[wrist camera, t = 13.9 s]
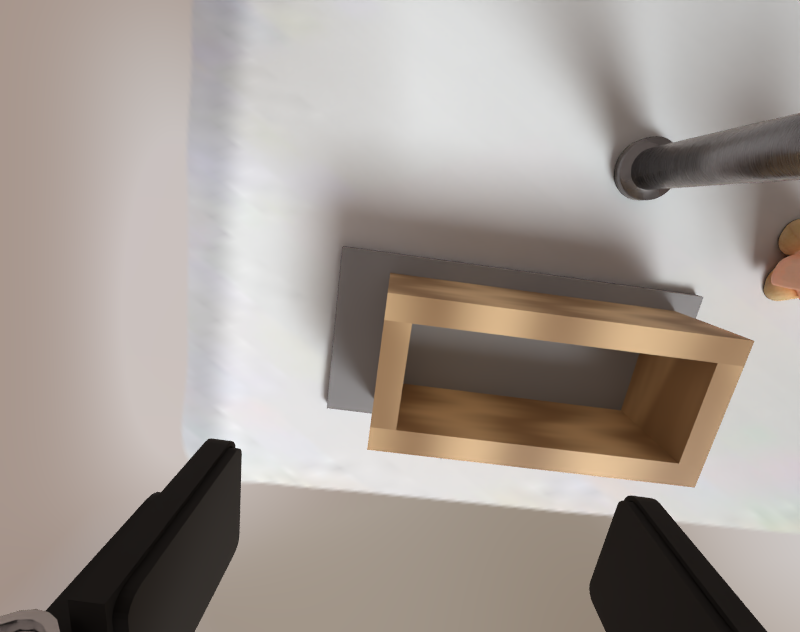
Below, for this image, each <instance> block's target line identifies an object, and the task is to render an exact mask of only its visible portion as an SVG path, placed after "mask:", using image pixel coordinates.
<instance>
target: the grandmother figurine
mask: <svg viewBox="0 0 800 632" xmlns="http://www.w3.org/2000/svg"><path fill="white" fill-rule="evenodd" d="M779 248H780V250H781V251H782V252H783V253H784V254H785V255H788V257H786V258H784V259H782V260H781V261H780V262H779V263H778V264H777V266H776V267H775V269H774V270H773V271H772V272H771V273H770V274H769V275H768V277H767V279H766V282H765V286H764V293H765V295H766V297H767V298H769V299H771V300H774V301H782V300H789V299H795V298H799V299H800V219H797V220H795V221H792V222H791V223H789V224H788V225H787V226H786V227H785V229H784V230H783V232H782V233H781V235H780V238H779Z"/></svg>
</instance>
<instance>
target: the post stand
mask: <svg viewBox="0 0 800 632" xmlns="http://www.w3.org/2000/svg"><path fill="white" fill-rule="evenodd" d="M614 177H615V183H616V186H617V188H618V189H619V191H620V192H621V193H622V194H623V195H624V196H626V197H627V198H630V199H633V200H651V199H655V198H658V197H660V196H662V195H663V194H665V193H666V192H668V191H669V190H670V189H671V188H682V187H697V186H712V185H727V184H741V183H756V182H771V181H786V180H800V113H797V114H793V115H789V116H785V117H780V118H776V119H772V120H768V121H763V122H759V123H755V124H750V125H746V126H742V127H738V128H733V129H729V130H725V131H720V132H716V133H712V134H708V135H703V136H699V137H695V138H691V139H686V140H682V141H678V142H671V141H670V140H668V139H666V138H664V137H657V136H656V137H649V138H645V139H641V140H638V141H636V142H634V143H632V144H631V145H629V146H628V147H627V148H626V149H625V150H624V151H623V152H622V154H621V155H620V157H619V158H618V161H617V163H616V166H615V172H614Z"/></svg>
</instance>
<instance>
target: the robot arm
mask: <svg viewBox="0 0 800 632" xmlns="http://www.w3.org/2000/svg"><path fill="white" fill-rule="evenodd" d="M241 457H242V453H241V449H238V448H235V443H234V442H233V441H226V440H218V439H208V440H207V441H206V442H205V443H204V444H203V445H202V446H201V447H200V449H199V450H198V451H197V452H196V453H195V454H194V455H193V457H192V458H191V459H190V460H189V461H188V462H187V463H186V465H185V466H184V467H183V468H182V469H181V470H180V471H179V473H178V474H177V475H176V476H175V477H174V478H173V479H172V481H171V482H170V483H169V484H168V485H167V486H166V487H165V488H164V490H163V491H162V492H156V493H154V494H152V495H151V496H150V497H149V498H147V499H146V501H145V502H144V503H143V504H142V505H141V506H140V507H139V508H138V509H137V510H136V511H135V513H134V514H133V515H132V516H131V517H130V518H129V519H128V520H127V521H126V523H125V524H124V525H123V526H122V527H121V528H120V529H119V531H117V533H116V534H115V535H114V536H113V537H112V538H111V539H110V540H109V541H108V542H107V544H106V545H105V546H104V547H103V548H102V549H101V550H100V551H99V552H98V553H97V555H96V556H95V557H94V558H93V559H92V560H91V561H90V562H89V563H88V565H87V566H86V567H85V568H84V569H83V570H82V571H81V572H80V574H79V575H78V576H77V577H76V578H75V579H74V580H73V581H72V582H71V583H70V584H69V586H68V587H67V588H66V589H65V590H64V591H63V592H62V593H61V594H60V595H59V597H58V598H57V599H56V600H55V601H54V602H53V603H52V604H51V606H50V607H49V608H48V609H47V610H46V611H42V610H38V609H33V610H21V611H17V612H13V613H10V614H7V615H3V616H0V632H195V630H196V628H197V626H198V624H199V622H200V620H201V618H202V616H203V614H204V612H205V610H206V608H207V606H208V604H209V602H210V600H211V598H212V596H213V595H214V592H215V591H216V588H217V587H218V585H219V583H220V581H221V579H222V577H223V575H224V573H225V571H226V569H227V567H228V565H229V563H230V561H231V559H232V557H233V555H234V553H235V551H236V548H237V545H238V541H239V526H240V525H239V524H240V492H241V491H240V490H241V489H240V488H241ZM589 589H590V596H591V600H592V602H593V604H594V607H595V609H596V611H597V613H598V616H599V618H600V620H601V622H602V624H603V626H604V629H605V631H606V632H767V631H766V630H765V629H764V628H763V626H762V625H761V624H760V623H759V622H758V620H757V619H756V618H755V617H754V615H753V614H752V613H751V612H750V611H749V609H748V608H747V607H746V606H745V605H744V603H743V602H742V601H741V600H740V599H739V597H738V596H737V595H736V594H735V593H734V591H733V590H732V589H731V588H730V587H729V586H728V584H727V583H726V582H725V581H724V580H723V579H722V577H721V576H720V575H719V574H718V572H717V571H716V570H715V569H714V568H713V566H712V565H711V564H710V563H709V562H708V561H707V559H706V558H705V557H704V556H703V554H702V553H701V552H700V551H699V550H698V549H697V547H696V546H695V545H694V544H693V543H692V541H691V540H690V539H689V538H688V537H687V535H686V534H685V533H684V532H683V531H682V529H681V528H680V527H679V526H678V525H677V523H676V522H675V521H674V520H673V519H672V517H671V516H670V515H669V514H668V513H667V511H666V510H665V509H664V508H663V507H662V506H661V504H660V503H659V502H658V501H657V500H655V499H652V498H645V497H638V496H627V497H626V498H625V499H624V501H620V502H619V503H618V505H617V508H616V511H615V514H614V516H613V519H612V522H611V525H610V528H609V531H608V533H607V536H606V539H605V542H604V545H603V548H602V550H601V553H600V556H599V559H598V562H597V565H596V567H595V570H594V573H593V576H592V579H591V581H590V588H589Z"/></svg>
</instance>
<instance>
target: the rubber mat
mask: <svg viewBox="0 0 800 632" xmlns="http://www.w3.org/2000/svg"><path fill="white" fill-rule="evenodd" d="M390 273H395V274H403V275H410V276H418V277H425V278H432V279H440V280H447V281H455V282H462V283H470V284H477V285H485V286H492V287H500V288H507V289H514V290H522V291H529V292H537V293H544V294H552V295H559V296H567V297H574V298H582V299H589V300H596V301H604V302H611V303H619V304H626V305H634V306H641V307H649V308H656V309H664V310H671V311H676V312H679V313H681V314H684V315H687V316H689V317H692V318H695V319H696V316H697V313H698V311H699V308H700V305H701V302H702V299H703V297H702V296H698V295H693V294H685V293H678V292H671V291H664V290H656V289H649V288H642V287H635V286H627V285H620V284H613V283H606V282H598V281H591V280H584V279H577V278H569V277H562V276H555V275H548V274H540V273H533V272H526V271H519V270H511V269H504V268H497V267H490V266H482V265H475V264H468V263H460V262H453V261H446V260H439V259H431V258H424V257H417V256H410V255H402V254H395V253H388V252H381V251H373V250H366V249H359V248H352V247H344V246H343V247H342V255H341V266H340V276H339V287H338V297H337V308H336V318H335V328H334V339H333V349H332V360H331V370H330V381H329V391H328V402H327V408H331V409H339V410H348V411H356V412H364V413H372V410H373V402H374V394H375V387H376V379H377V371H378V363H379V356H380V348H381V340H382V333H383V325H384V317H385V310H386V302H387V294H388V286H389V279H390ZM638 356H639V353H636V352H628V351H620V350H613V349H605V348H597V347H589V346H582V345H574V344H566V343H558V342H551V341H543V340H535V339H527V338H520V337H512V336H504V335H496V334H489V333H481V332H473V331H466V330H458V329H450V328H442V327H435V326H427V325H419V324H412V328H411V334H410V341H409V348H408V354H407V361H406V368H405V374H404V381H403V384H410V385H418V386H427V387H435V388H443V389H451V390H459V391H467V392H475V393H484V394H492V395H500V396H508V397H516V398H524V399H532V400H541V401H549V402H557V403H565V404H573V405H581V406H589V407H598V408H606V409H614V410H621V409H622V406H623V403H624V399H625V396H626V393H627V390H628V387H629V384H630V381H631V378H632V375H633V372H634V369H635V366H636V363H637V359H638Z"/></svg>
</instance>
